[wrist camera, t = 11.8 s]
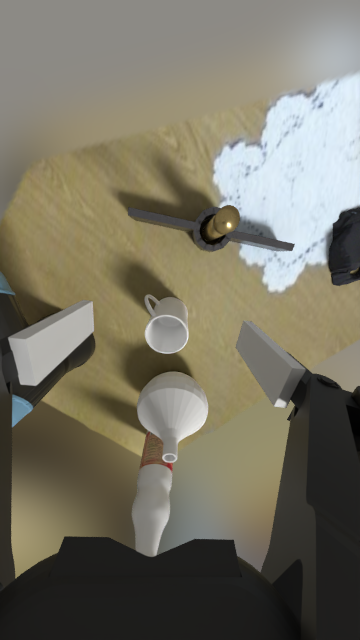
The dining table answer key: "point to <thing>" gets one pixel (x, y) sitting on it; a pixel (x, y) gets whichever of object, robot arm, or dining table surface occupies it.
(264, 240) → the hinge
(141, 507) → the fruit juice
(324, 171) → the dining table surface
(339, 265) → the dark slate chunk
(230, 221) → the pin
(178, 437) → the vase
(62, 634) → the robot arm
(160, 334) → the mug
